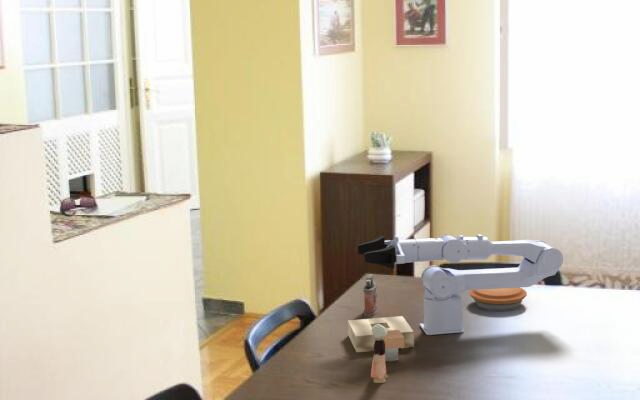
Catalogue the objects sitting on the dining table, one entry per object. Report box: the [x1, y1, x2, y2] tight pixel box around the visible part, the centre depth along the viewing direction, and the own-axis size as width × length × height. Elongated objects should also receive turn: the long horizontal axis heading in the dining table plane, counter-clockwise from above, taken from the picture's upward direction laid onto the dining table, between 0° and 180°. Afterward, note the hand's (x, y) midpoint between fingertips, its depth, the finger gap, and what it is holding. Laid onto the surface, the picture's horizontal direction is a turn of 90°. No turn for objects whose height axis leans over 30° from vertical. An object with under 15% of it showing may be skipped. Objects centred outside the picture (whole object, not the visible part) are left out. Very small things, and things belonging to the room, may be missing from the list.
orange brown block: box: [383, 330, 405, 362], centre depth 208 cm, size 5×5×6 cm
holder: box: [347, 315, 415, 353], centre depth 220 cm, size 14×12×4 cm
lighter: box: [362, 273, 378, 318], centre depth 242 cm, size 8×3×10 cm, turn 168°
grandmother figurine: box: [370, 324, 388, 384], centre depth 195 cm, size 8×4×13 cm, turn 174°
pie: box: [468, 287, 528, 312], centre depth 245 cm, size 15×16×5 cm
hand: (361, 253), depth 220 cm, fingers open, 7 cm apart
